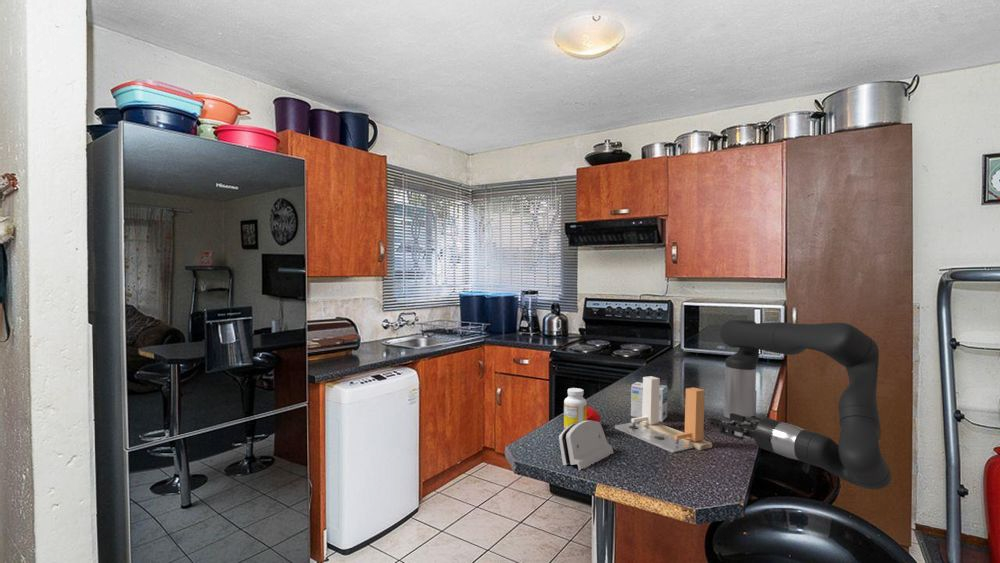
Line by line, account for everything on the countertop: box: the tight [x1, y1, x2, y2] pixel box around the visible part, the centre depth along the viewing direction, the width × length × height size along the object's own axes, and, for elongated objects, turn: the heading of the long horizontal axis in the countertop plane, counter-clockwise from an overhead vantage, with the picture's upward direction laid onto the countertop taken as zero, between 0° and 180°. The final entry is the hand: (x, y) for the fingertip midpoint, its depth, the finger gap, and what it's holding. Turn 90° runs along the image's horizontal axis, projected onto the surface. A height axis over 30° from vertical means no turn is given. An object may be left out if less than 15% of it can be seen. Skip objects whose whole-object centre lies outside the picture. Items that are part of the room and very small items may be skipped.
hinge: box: [558, 420, 614, 471], centre depth 118 cm, size 17×5×10 cm, turn 137°
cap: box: [586, 406, 601, 423], centre depth 142 cm, size 8×6×6 cm
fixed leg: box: [630, 375, 661, 427], centre depth 141 cm, size 9×4×14 cm, turn 119°
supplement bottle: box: [563, 387, 588, 431], centre depth 136 cm, size 7×7×13 cm
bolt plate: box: [614, 422, 693, 454], centre depth 133 cm, size 8×22×1 cm, turn 29°
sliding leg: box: [674, 386, 706, 444], centre depth 127 cm, size 9×4×14 cm, turn 119°
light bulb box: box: [630, 381, 668, 423], centre depth 154 cm, size 11×7×11 cm, turn 58°
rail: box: [638, 421, 713, 451], centre depth 135 cm, size 5×22×1 cm, turn 29°
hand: (720, 418), depth 122 cm, fingers open, 8 cm apart
